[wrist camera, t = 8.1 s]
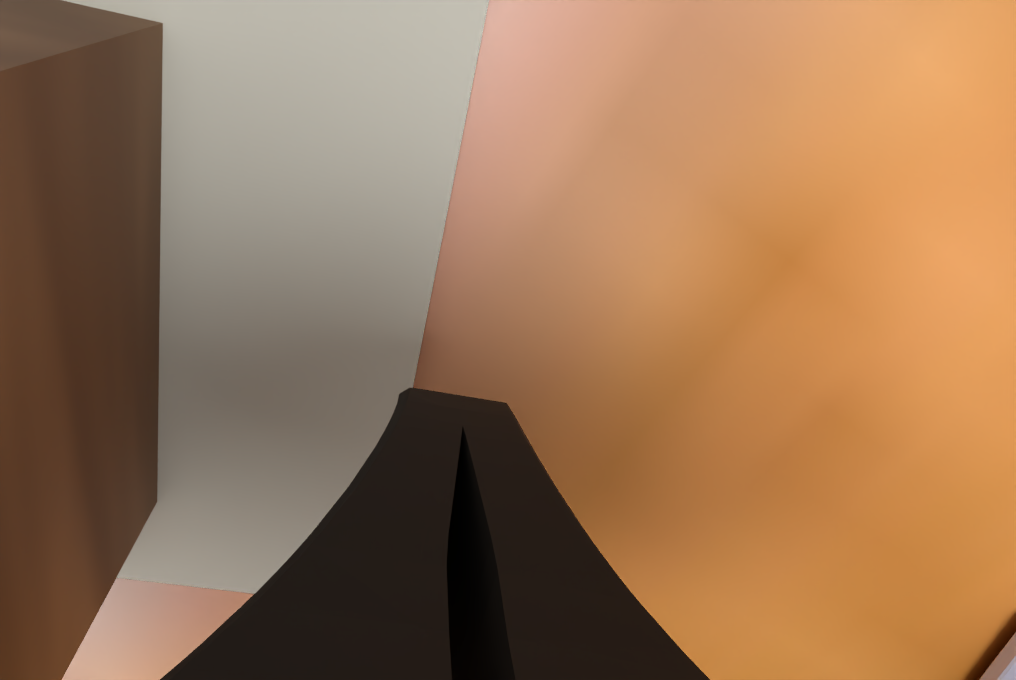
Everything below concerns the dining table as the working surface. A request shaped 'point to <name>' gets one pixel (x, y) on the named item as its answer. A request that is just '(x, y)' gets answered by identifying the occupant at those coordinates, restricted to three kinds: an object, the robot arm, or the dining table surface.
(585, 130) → the dining table surface
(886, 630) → the dining table surface
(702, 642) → the dining table surface
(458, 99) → the mat
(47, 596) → the tile
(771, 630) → the dining table surface
